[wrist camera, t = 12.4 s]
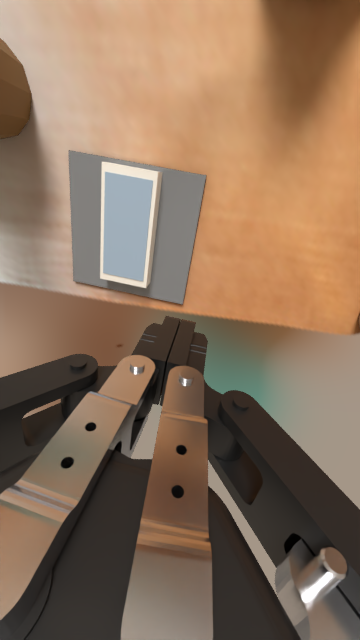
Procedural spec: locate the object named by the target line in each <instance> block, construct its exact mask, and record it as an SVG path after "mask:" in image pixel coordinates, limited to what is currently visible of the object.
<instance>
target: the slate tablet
mask: <svg viewBox="0 0 360 640" xmlns="http://www.w3.org/2000/svg"><path fill="white" fill-rule="evenodd" d="M162 173H163V172H158V171H152V170H147V169H142V168H136V167H131V166H125V165H120V164H115V163H109V162H102V175H101V250H100V278H101V279H105V280H110V281H115V282H119V283H124V284H129V285H133V286H138V287H143V288H147V286H148V285H149V284H150V280H151V271H152V262H153V253H154V244H155V235H156V226H157V218H158V209H159V200H160V191H161V182H162Z"/></svg>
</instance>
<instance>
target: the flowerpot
mask: <svg viewBox="0 0 360 640" xmlns="http://www.w3.org/2000/svg"><path fill="white" fill-rule="evenodd" d="M30 106H31V91H30V88H29V84H28V81H27V78H26V74H25V71H24V68H23V65H22V64H21V63H20V61H19V60H18V59H17V57H16V56H15V55H14V53H13V52H12V51H11V50H10V48H9V47H8V46H7V44H6V43H5V42H4V41H3V40H2V39H0V139H3V138H7V137H12V136H17V135H19V133H20V132H21V130H22V129H23V128H24V126H25V125H26V123H27V122H28V121H29V118H30Z"/></svg>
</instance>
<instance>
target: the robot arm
mask: <svg viewBox="0 0 360 640" xmlns="http://www.w3.org/2000/svg"><path fill="white" fill-rule="evenodd" d="M358 322H359V328H360V315H359V321H358ZM195 324H196V322H192V321H187V320H183V319H182V320H181V322H180V319H178V318H174V317H169V316H166V317H165V319H164V322H163V324H162V325H160V324H155V323H153V324H151V325H150V326H148V327H147V328H146V330H145V331H144V333H143V335H142V337H141V339H140V340H139V342H138V344H137V346H136V348H135V350H134V351H133V353H132V355H131V356H128V357H125V358H124V359H122V360H121V362H120V363H119V364H118V365H117V366H98V363H97V361H96V359H95V358H93V357H92V356H89V355H86V354H75V355H70V356H67V357H64V358H61V359H58V360H55V361H52V362H48V363H45V364H42V365H39V366H36V367H33V368H30V369H27V370H24V371H20V372H17V373H14V374H11V375H8V376H5V377H2V378H0V640H360V510H359V509H358V507H357V506H356V505H355V504H354V503H353V502H352V501H351V500H350V499H349V498H348V497H347V496H346V495H345V494H344V493H343V492H342V491H341V490H340V489H339V488H338V487H337V485H336V484H335V483H334V482H333V481H332V480H331V479H330V478H329V477H328V476H327V475H326V474H325V473H324V472H323V471H322V470H321V469H320V468H319V467H318V466H317V464H316V463H315V462H314V461H313V460H312V459H311V458H310V457H309V456H308V455H307V454H306V453H305V452H304V451H303V450H302V449H301V448H300V447H299V445H298V444H296V442H295V441H294V440H293V439H292V438H291V437H290V436H289V435H288V434H287V433H286V432H285V431H284V430H283V429H282V428H281V427H280V426H279V424H277V422H276V421H275V420H274V419H273V418H272V417H271V416H270V415H269V414H268V413H267V412H266V411H265V410H264V409H263V408H262V407H261V406H260V405H259V404H258V402H257V401H255V400H254V398H253V397H251V396H250V395H248V394H246V393H244V392H241V391H236V390H233V391H228V392H226V393H224V394H220V393H219V392H217V391H215V390H213V389H212V388H210V387H209V386H208V385H207V383H206V382H205V380H204V377H203V374H204V366H205V358H206V350H207V342H208V341H207V339H206V337H205V335H204V334H200V333H196V332H194V328H195ZM161 395H162V396H161ZM60 398H61V403H59V404H56V405H54V406H52V407H49V408H47V409H45V410H43V411H40V412H38V413H35V414H33V415H31V416H28V417H26V418H23V416H24V415H25V414H26V413H28V412H29V411H31V410H33V409H35V408H38V407H41V406H43V405H45V404H48V403H50V402H53V401H55V400H57V399H60ZM160 398H161V401H160ZM159 401H160V405H161V406H162V412H161V416H160V422H159V427H158V432H157V438H156V443H155V449H154V454H153V459H131V456H132V453H133V451H134V449H135V446H136V444H137V442H138V440H139V437H140V435H141V433H142V431H143V428H144V426H145V424H146V422H147V419H148V414H149V412H150V410H151V407H152V404H157V405H158V404H159ZM22 418H23V419H22ZM208 460H209V462H210V463H211V465H212V466H213V468H214V469H215V471H216V473H217V474H218V476H219V478H220V479H221V481H222V482H223V484H224V485H225V487H226V489H227V490H228V492H229V493H230V495H231V497H232V498H233V500H234V501H235V503H236V504H237V506H238V508H239V509H240V511H241V512H242V514H243V516H244V517H245V519H246V520H247V522H248V524H249V525H250V527H251V528H252V530H253V531H254V533H255V535H256V536H257V538H258V539H259V541H260V542H261V544H262V546H263V547H264V549H265V551H266V552H267V554H268V555H269V557H270V558H271V560H272V562H273V563H274V565H275V566H276V568H277V569H276V573H275V586H276V592H277V595H278V597H277V595H276V594H275V592H274V590H273V588H272V586H271V585H270V583H269V581H268V580H267V578H266V576H265V574H264V572H263V571H262V569H261V567H260V565H259V563H258V562H257V560H256V558H255V556H254V554H253V553H252V551H251V549H250V547H249V546H248V544H247V542H246V540H245V539H244V537H243V535H242V533H241V531H240V530H239V528H238V526H237V524H236V522H235V521H234V519H233V517H232V515H231V513H230V512H229V510H228V508H227V507H226V505H225V504H224V503H223V501H222V500H221V498H220V497H219V496H218V495H217V494H216V493H215V492H214V491H213V490H212V489H211V488H210V487H209V486H208ZM278 598H279V599H278Z"/></svg>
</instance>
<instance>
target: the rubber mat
mask: <svg viewBox="0 0 360 640" xmlns="http://www.w3.org/2000/svg"><path fill="white" fill-rule="evenodd" d="M102 162H109V163H115V164H120V165H125V166H131V167H136V168H142V169H147V170H152V171H158V172H163V173H162V182H161V191H160V200H159V209H158V218H157V226H156V235H155V244H154V253H153V262H152V271H151V280H150V284H149V285H148V286H147V288H143V287H138V286H133V285H129V284H124V283H119V282H115V281H110V280H105V279H101V278H100V250H101V175H102ZM69 175H70V201H71V227H72V253H73V279H74V281H76V282H81V283H86V284H90V285H95V286H100V287H104V288H109V289H113V290H118V291H123V292H127V293H132V294H137V295H141V296H146V297H150V298H155V299H160V300H164V301H169V302H174V303H178V304H183V301H184V295H185V290H186V284H187V279H188V273H189V268H190V263H191V257H192V252H193V246H194V241H195V235H196V230H197V224H198V219H199V213H200V208H201V203H202V197H203V192H204V186H205V181H206V175H201V174H195V173H190V172H184V171H179V170H173V169H168V168H162V167H157V166H152V165H146V164H141V163H135V162H130V161H124V160H119V159H113V158H108V157H103V156H97V155H92V154H86V153H81V152H75V151H70V150H69Z"/></svg>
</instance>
